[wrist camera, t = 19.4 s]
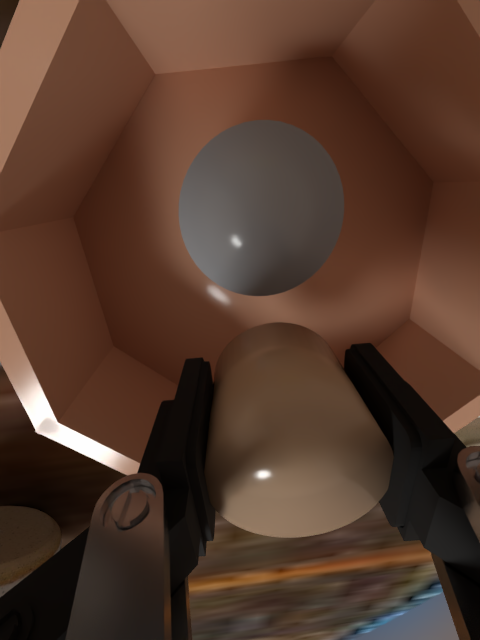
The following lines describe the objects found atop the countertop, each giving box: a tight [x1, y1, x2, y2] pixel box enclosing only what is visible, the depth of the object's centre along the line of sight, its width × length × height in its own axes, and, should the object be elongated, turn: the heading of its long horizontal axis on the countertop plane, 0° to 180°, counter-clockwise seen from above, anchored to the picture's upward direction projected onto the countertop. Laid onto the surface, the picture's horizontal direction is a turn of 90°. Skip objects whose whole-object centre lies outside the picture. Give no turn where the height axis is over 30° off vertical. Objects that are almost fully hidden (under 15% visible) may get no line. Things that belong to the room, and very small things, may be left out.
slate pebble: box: [179, 120, 344, 296], centre depth 10 cm, size 4×4×4 cm
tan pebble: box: [204, 322, 394, 538], centre depth 9 cm, size 4×4×4 cm
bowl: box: [0, 0, 480, 475], centre depth 11 cm, size 16×16×6 cm
